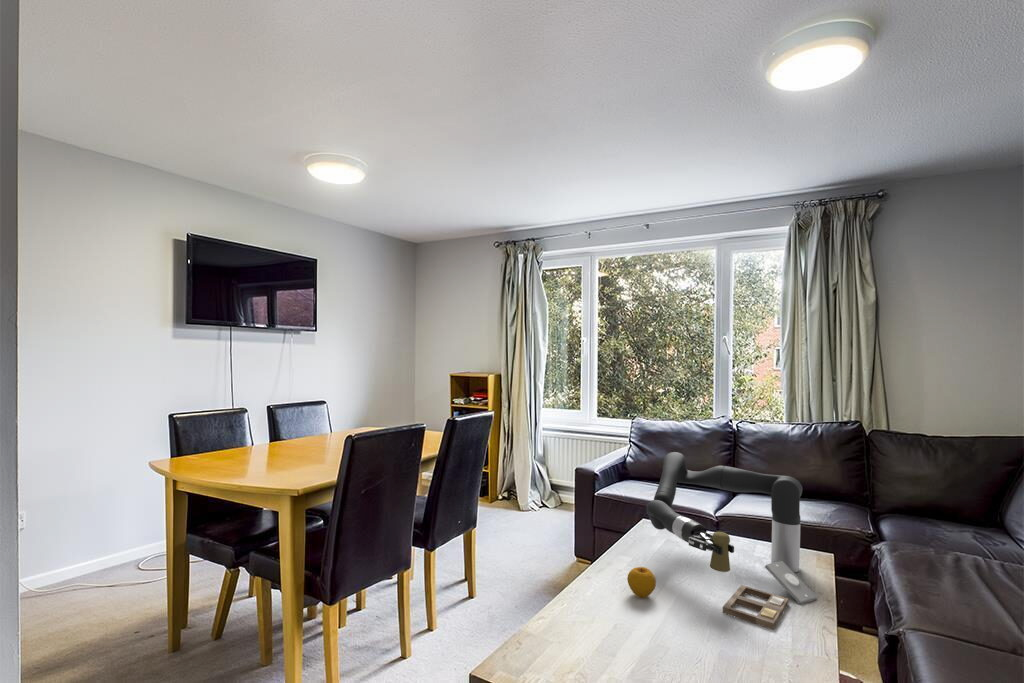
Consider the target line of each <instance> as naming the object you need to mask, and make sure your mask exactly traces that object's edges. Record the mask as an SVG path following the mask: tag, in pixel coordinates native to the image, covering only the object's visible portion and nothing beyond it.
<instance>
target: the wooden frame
mask: <svg viewBox="0 0 1024 683" xmlns="http://www.w3.org/2000/svg"><path fill="white" fill-rule="evenodd" d="M746 594H747V595H751V596H754V597H757V598H760V599H764V600H767V601H766V602H761V601H758V600H755V599H751V598H747V597H746V596H745V595H746ZM736 604H737V605H738V606H742V607H744V608H748V609H751V610H754V611H758V614H757V615H755V614H753V613H749V612H746V611H743V610H739V609H736V606H737V605H736ZM788 605H789V598H788V597H783V596H781V595H777V594H773V593H770V592H767V591H763V590H761V589H757V588H754V587H751V586H746V585H743V584H741V585H740V586H739V587H738V588H737V589H736V590H735V592H734V593H733V594H732V595H731V596H730V598H729V599H728V600H727V601H726V603H724V604H723V606H722V614H725V613H726V614H725V615H728V614H729V615H728V616H731V615H732V616H731V617H734V616H735V618H738V619H740V620H743V621H746V622H749V623H752V624H755V625H758V626H761V627H764V628H768V629H771V630H774V629H775V628H776V626H777V624H778V623H779V621H780V619H781V618H780V617H782V616H783V614H784V613H783V612H785V611H786V610H787V608H788ZM786 607H787V608H786Z"/></svg>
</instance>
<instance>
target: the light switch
mask: <svg viewBox="0 0 1024 683" xmlns="http://www.w3.org/2000/svg"><path fill="white" fill-rule="evenodd" d="M764 568H765V569H766V570H767V571H768V572H769V573H770V575H772V577H773V578H775V580H776V581H777V582H778V583H779V584H780V585H781V586H782V588H784V589H785V591H787V592H788V594H790V596H791V597H792V598H793V599H794V600H795V601H796V602H797V604H799V605H802V603H803V604H806V603H809V601H810V602H812V600H813V601H815V599H816V600H817V599H818V596H817V595H816V594H815V593H814V592H813V590H811V589H810V587H809V586H807V585H806V583H804V581H803V580H802V579H801V578H800V577H799V576H797V574H796V573H793V571H792V570H791V569H790V568H789V567H788V566H787V565H786V564H785V563H784V562H783V561H780V562H776V563H772V564H771V563H769V564H768V563H767V564H766V565H764ZM805 602H806V603H805Z"/></svg>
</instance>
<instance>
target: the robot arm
mask: <svg viewBox="0 0 1024 683" xmlns="http://www.w3.org/2000/svg"><path fill="white" fill-rule="evenodd" d="M677 483H680V484H681V483H682V484H689V485H690V484H691V485H698V486H704V487H711V488H715V489H720V490H724V491H727V492H728V491H730V492H733V493H734V492H736V493H762V494H766V495H770V496H771V500H770V502H771V503H770V504H771V506H770V509H771V516H772V517H771V518H772V519H771V553H770V554H771V557H770V558H771V559H770V560H771V561H770V564H772V563H776V562H780V561H783V562H784V563H785V564H786V565H787V566H788V567H789V568H790V569H791V570H792V571H793V573H794V574H796V573H799V572H800V561H801V560H800V558H801V557H800V556H801V555H800V554H801V553H800V549H801V520H802V519H801V514H800V513H801V512H800V505H801V504H800V503H801V502H800V500H801V496H802V494H803V486H802V484H801V483H800V481H799V480H797V479H796V478H795V477H793V476H790V475H779V474H778V475H777V474H767V473H766V474H765V473H761V472H756V471H751V470H747V469H742V468H738V467H733V466H727V465H716V466H712V467H710V468H708V469H705V470H700V471H695V470H694V471H693V470H689V469H688V466H687V460H686V457H685V456H684V454H682V453H680V452H676V451H673V452H668V453H667V454H666V455H665V456H664V457H663V465H662V472H661V476H660V480H659V483H658V486H657V489H656V490H655V494H654V496H653V500H650V501H649V502H648V503H647V504H646V507H645V508H646V514H647V515H648V517H649V521H650V522H651V525H652V527H654V528H655V529H657V530H661V531H662V530H667V531H668V532H669V533H671V534H673V535H675V536H676V537H678V539H680V540H682V541H684V542H686V543H688V546H689V547H692V548H695V549H699V550H701V551H703V552H706V551H707V550H708V552H712V551H714V552H715V553H717V554H719V555H722V554H723V548H722V547H720V546H718V545H716V544H714V542H713V539H712V536H713V534H714V533H712V532H710V531H708V530H707V528H706V526H705V525H703V524H701V523H699V522H698V521H696V520H693V519H691V518H689V517H686V516H684V515H681V514H679V513H677V512H676V511H675V510H674V509H673V503H674V501H675V496H676V493H677ZM728 552H729V553H731V554H733V553H735V546H734V545H733V544H731V543H729V544H728Z"/></svg>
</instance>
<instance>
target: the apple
mask: <svg viewBox="0 0 1024 683" xmlns="http://www.w3.org/2000/svg"><path fill="white" fill-rule="evenodd" d="M626 579H627V585H628V586H629V588H630V590H631V591H632V593H633V595H635V596H636V597H638V599H642V598H643V599H646V598H648V597H649V596H650V595H651V594H652V593H653V592H654V590H655V588H656V585H657V580H656V577H655V574H654V573H653V572H652V570H650V569H649V568H648V567H645V566H637V567H634V568H633V567H632V569H631V570H630V571H629V572H628V574H627V578H626Z"/></svg>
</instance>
